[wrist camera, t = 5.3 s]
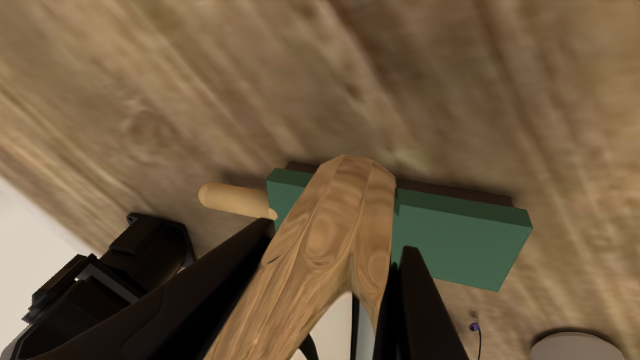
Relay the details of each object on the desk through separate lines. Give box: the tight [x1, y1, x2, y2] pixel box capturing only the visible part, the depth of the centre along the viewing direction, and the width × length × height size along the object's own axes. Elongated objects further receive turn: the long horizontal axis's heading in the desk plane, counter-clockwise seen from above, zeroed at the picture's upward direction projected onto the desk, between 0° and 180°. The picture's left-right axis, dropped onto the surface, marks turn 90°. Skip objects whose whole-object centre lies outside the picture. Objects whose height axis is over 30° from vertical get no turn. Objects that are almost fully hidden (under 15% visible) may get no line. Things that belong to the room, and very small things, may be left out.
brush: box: [198, 162, 533, 292], centre depth 24 cm, size 22×6×3 cm, turn 90°
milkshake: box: [187, 154, 400, 360], centre depth 8 cm, size 5×5×10 cm
